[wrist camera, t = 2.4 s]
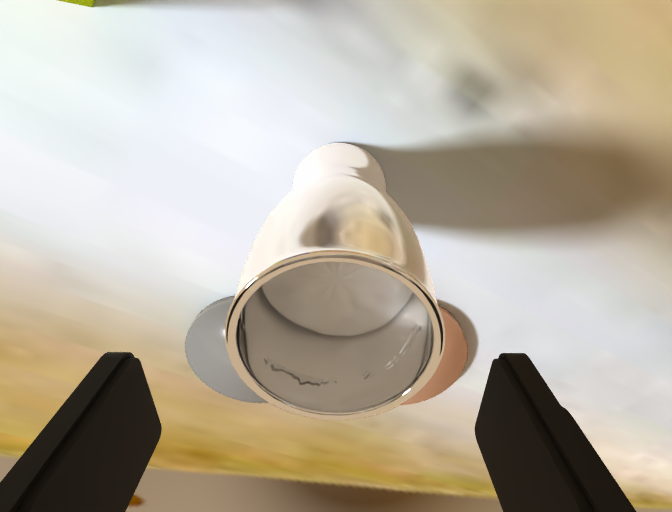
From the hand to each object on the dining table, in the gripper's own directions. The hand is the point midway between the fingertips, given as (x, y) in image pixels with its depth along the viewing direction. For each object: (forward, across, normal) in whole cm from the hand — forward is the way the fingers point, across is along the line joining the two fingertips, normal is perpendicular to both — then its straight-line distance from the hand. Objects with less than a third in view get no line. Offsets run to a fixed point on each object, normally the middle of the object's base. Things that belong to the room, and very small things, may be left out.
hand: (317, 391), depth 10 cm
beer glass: (+16, -1, -1) cm, 17 cm away
